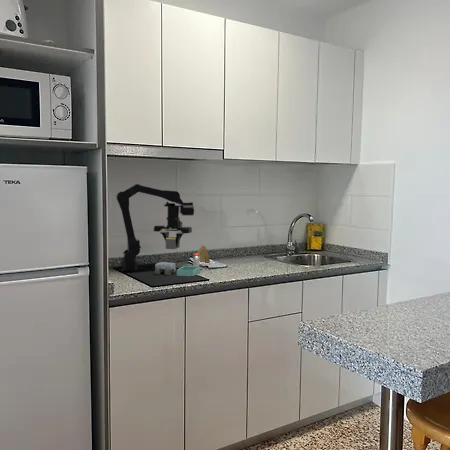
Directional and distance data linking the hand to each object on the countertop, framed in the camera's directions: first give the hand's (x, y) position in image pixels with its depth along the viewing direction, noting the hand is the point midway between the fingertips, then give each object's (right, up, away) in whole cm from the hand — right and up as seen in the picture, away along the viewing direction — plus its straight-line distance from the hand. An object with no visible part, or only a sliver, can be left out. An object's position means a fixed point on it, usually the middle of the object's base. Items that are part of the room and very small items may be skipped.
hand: (172, 246), depth 230 cm
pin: (+12, -12, -2) cm, 17 cm away
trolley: (-2, -13, -12) cm, 18 cm away
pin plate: (+12, -12, -2) cm, 17 cm away
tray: (+9, -13, -13) cm, 21 cm away
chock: (0, -1, 0) cm, 1 cm away
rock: (+14, -11, +17) cm, 24 cm away
